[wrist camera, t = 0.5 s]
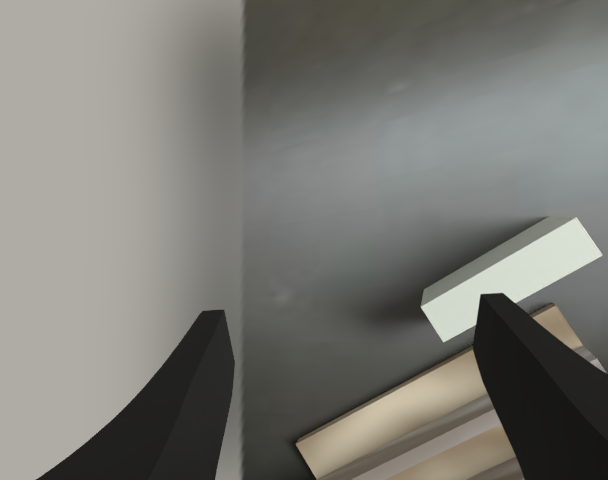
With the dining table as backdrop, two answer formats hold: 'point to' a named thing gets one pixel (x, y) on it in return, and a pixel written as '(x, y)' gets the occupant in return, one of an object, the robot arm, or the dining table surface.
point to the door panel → (509, 272)
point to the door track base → (427, 426)
